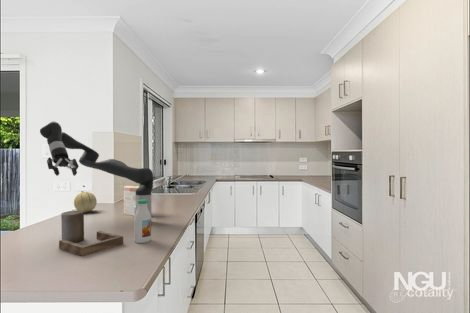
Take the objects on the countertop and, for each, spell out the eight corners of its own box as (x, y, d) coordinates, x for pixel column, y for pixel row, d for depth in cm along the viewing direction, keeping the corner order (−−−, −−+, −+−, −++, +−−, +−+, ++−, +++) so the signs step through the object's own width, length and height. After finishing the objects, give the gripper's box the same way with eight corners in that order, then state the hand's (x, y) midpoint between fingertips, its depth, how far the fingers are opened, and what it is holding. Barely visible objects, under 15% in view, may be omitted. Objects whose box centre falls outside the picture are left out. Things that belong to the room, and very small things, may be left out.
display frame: (59, 248, 132) (59, 240, 132) (100, 237, 149) (100, 230, 149) (81, 256, 123) (81, 247, 123) (123, 243, 140) (123, 236, 140)
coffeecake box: (146, 215, 204) (146, 186, 204) (137, 217, 198) (137, 187, 198) (131, 212, 212) (131, 185, 212) (123, 214, 206) (123, 186, 206)
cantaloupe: (90, 214, 205) (90, 192, 204) (69, 214, 205) (69, 192, 205) (100, 210, 219) (100, 190, 219) (80, 210, 220) (80, 189, 219)
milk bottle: (135, 244, 139) (135, 201, 139) (133, 240, 146) (133, 199, 146) (152, 242, 143) (152, 200, 142) (149, 238, 149) (149, 198, 149)
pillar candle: (87, 237, 150) (87, 207, 150) (78, 243, 140) (77, 211, 140) (68, 237, 149) (67, 208, 149) (57, 243, 140) (56, 211, 140)
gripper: (69, 156, 169) (77, 179, 162) (41, 155, 157) (49, 179, 150) (74, 147, 166) (83, 170, 159) (46, 145, 154) (54, 169, 147)
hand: (66, 174), depth 155 cm, fingers open, 8 cm apart
